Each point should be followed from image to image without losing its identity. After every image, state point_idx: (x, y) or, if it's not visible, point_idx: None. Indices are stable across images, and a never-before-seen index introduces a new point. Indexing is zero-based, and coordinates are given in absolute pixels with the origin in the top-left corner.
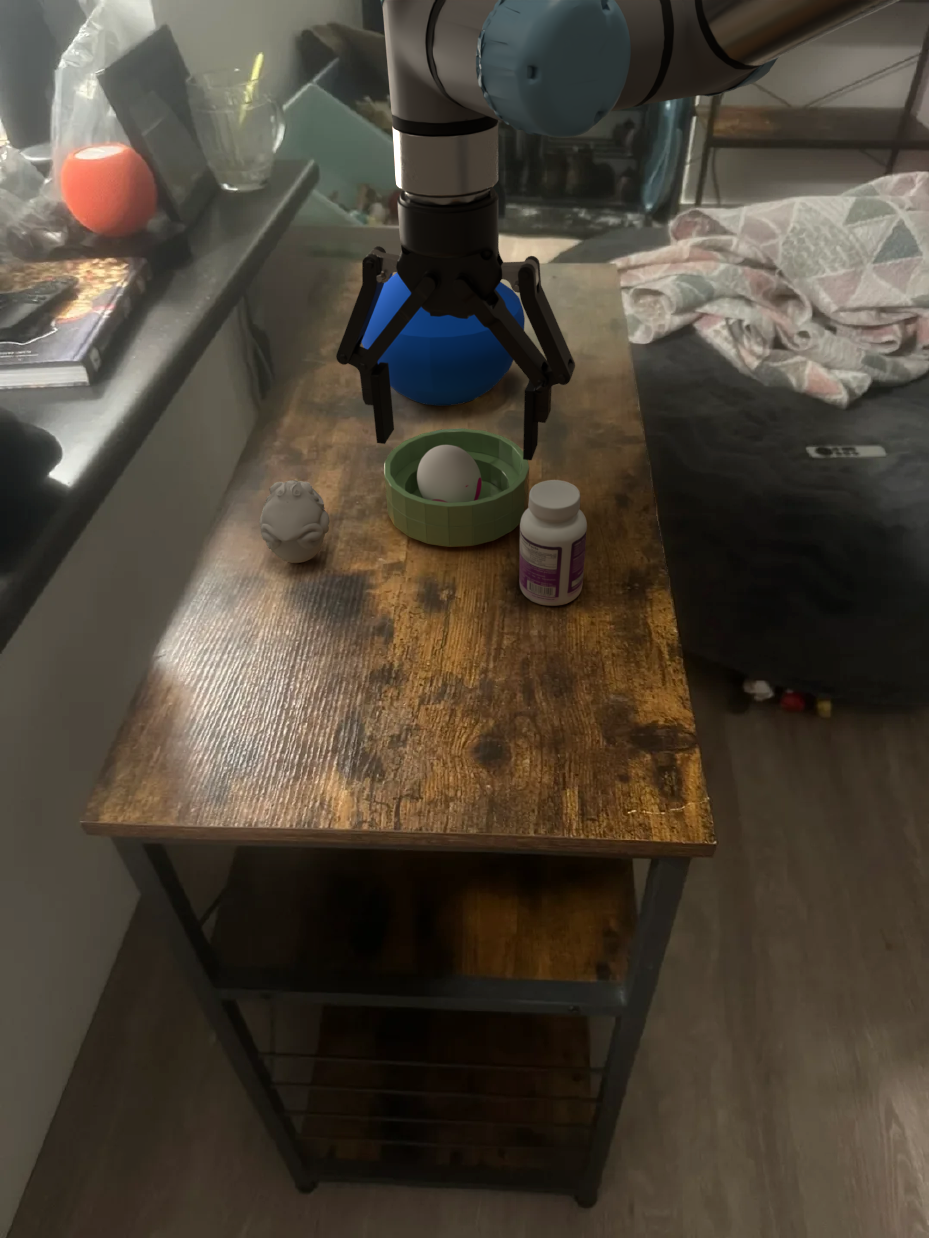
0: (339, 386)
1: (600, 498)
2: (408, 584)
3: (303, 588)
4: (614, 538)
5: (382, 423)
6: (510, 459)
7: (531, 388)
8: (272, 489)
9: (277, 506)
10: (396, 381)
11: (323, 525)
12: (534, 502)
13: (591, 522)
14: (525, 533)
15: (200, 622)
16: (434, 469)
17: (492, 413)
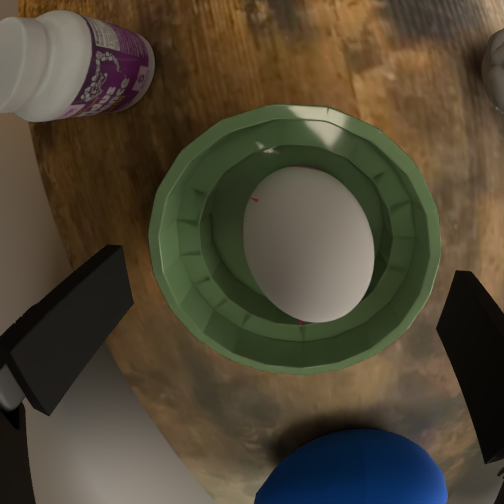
0: (458, 431)
1: None
2: (326, 21)
3: (468, 13)
4: (77, 200)
5: (478, 301)
6: (213, 318)
7: (6, 360)
8: None
9: None
10: (408, 446)
11: (496, 68)
12: (18, 19)
13: (107, 228)
14: (75, 15)
15: None
16: (332, 222)
17: (290, 424)
